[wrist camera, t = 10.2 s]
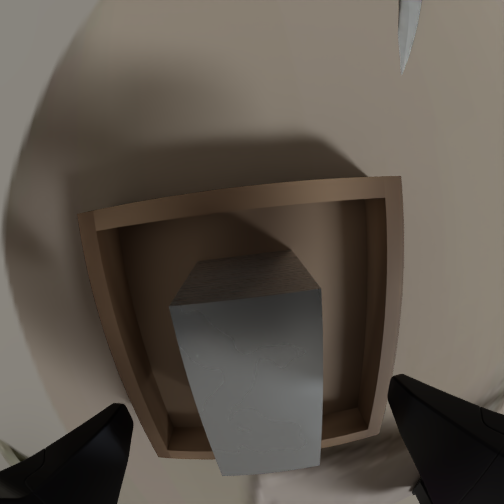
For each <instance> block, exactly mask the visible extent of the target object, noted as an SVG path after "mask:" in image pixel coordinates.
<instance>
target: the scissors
mask: <svg viewBox="0 0 504 504" xmlns="http://www.w3.org/2000/svg"><path fill="white" fill-rule="evenodd" d="M421 3H422V0H400V2H399V24H398V42H399V53H400V66H401V75H402V74H403V71H404V69H405V66H406V63H407V61H408V57H409V55H410V51H411V48H412V45H413V41H414V37H415V33H416V29H417V25H418V20H419V15H420V8H421Z"/></svg>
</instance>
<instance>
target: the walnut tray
mask: <svg viewBox="0 0 504 504" xmlns="http://www.w3.org/2000/svg"><path fill="white" fill-rule="evenodd" d="M77 216H78V223H79V229H80V235H81V241H82V247H83V252H84V257H85V262H86V266H87V271H88V275H89V279H90V284H91V288H92V292H93V295H94V299H95V303H96V306H97V310H98V314H99V317H100V320H101V324H102V327H103V330H104V333H105V336H106V339H107V342H108V345H109V348H110V351H111V354H112V356H113V359H114V362H115V365H116V367H117V370H118V372H119V375H120V377H121V380H122V382H123V385H124V387H125V390H126V392H127V394H128V397H129V399H130V401H131V403H132V406H133V408H134V410H135V412H136V414H137V416H138V419H139V421H140V423H141V425H142V427H143V429H144V431H145V433H146V435H147V437H148V439H149V440H150V442H151V444H152V446H153V448H154V450H155V452H156V453H157V455H158V457H162V458H177V459H215V456H214V454H213V451H212V448H211V446H210V443H209V440H208V438H207V435H206V432H205V429H204V426H203V424H202V421H201V418H200V415H199V412H198V409H197V406H196V403H195V400H194V397H193V394H192V390H191V387H190V384H189V381H188V377H187V374H186V371H185V367H184V364H183V360H182V357H181V353H180V349H179V346H178V342H177V338H176V334H175V330H174V326H173V322H172V318H171V314H170V310H169V305H170V304H171V302H172V301H173V299H174V297H175V296H176V294H177V293H178V291H179V290H180V288H181V286H182V285H183V283H184V282H185V280H186V279H187V277H188V275H189V274H190V272H191V271H192V269H193V268H194V266H195V265H196V263H197V262H198V261H203V260H211V259H219V258H227V257H235V256H243V255H251V254H259V253H267V252H275V251H283V250H292V251H293V252H294V254H295V255H296V256H297V257H298V259H299V260H300V261H301V263H302V264H303V265H304V267H305V268H306V269H307V270H308V272H309V273H310V274H311V276H312V277H313V278H314V279H315V281H316V282H317V283H318V285H319V286H320V287H321V293H322V320H323V410H322V435H321V448H326V447H331V446H335V445H340V444H344V443H348V442H352V441H356V440H360V439H364V438H367V437H371V436H374V435H378V434H379V432H380V428H381V424H382V420H383V416H384V412H385V408H386V404H387V399H388V398H387V394H388V389H389V384H390V379H391V377H392V374H393V368H394V362H395V355H396V349H397V341H398V333H399V325H400V315H401V304H402V289H403V268H404V217H403V196H402V182H401V176H381V177H354V178H334V179H318V180H305V181H292V182H281V183H270V184H260V185H251V186H242V187H233V188H225V189H217V190H210V191H202V192H195V193H188V194H182V195H175V196H169V197H163V198H157V199H151V200H145V201H139V202H134V203H128V204H123V205H118V206H113V207H108V208H103V209H98V210H93V211H88V212H84V213H79V214H77Z"/></svg>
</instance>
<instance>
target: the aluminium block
mask: <svg viewBox="0 0 504 504" xmlns="http://www.w3.org/2000/svg"><path fill="white" fill-rule="evenodd" d="M169 310H170V314H171V318H172V322H173V326H174V330H175V334H176V338H177V342H178V346H179V349H180V353H181V357H182V360H183V364H184V367H185V371H186V374H187V377H188V381H189V384H190V387H191V390H192V394H193V397H194V400H195V403H196V406H197V409H198V412H199V415H200V418H201V421H202V424H203V426H204V429H205V432H206V435H207V438H208V440H209V443H210V446H211V448H212V451H213V454H214V456H215V459H216V461H217V464H218V466H219V469H220V471H221V474H222V476H235V475H252V474H264V473H273V472H282V471H289V470H296V469H302V468H308V467H313V466H319V465H320V452H321V435H322V410H323V320H322V293H321V287H320V286H319V285H318V283H317V282H316V281H315V279H314V278H313V277H312V276H311V274H310V273H309V272H308V270H307V269H306V268H305V267H304V265H303V264H302V263H301V261H300V260H299V259H298V257H297V256H296V255H295V254H294V252H293V251H292V250H283V251H275V252H267V253H259V254H251V255H243V256H235V257H227V258H219V259H211V260H203V261H198V262H197V263H196V265H195V266H194V268H193V269H192V271H191V272H190V274H189V275H188V277H187V279H186V280H185V282H184V283H183V285H182V286H181V288H180V290H179V291H178V293H177V294H176V296H175V297H174V299H173V301H172V302H171V304H170V305H169Z"/></svg>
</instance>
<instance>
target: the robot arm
mask: <svg viewBox="0 0 504 504" xmlns="http://www.w3.org/2000/svg"><path fill="white" fill-rule="evenodd" d="M387 398H388V402H389V404H390V407H391V410H392V413H393V415H394V418H395V421H396V424H397V427H398V429H399V432H400V434H401V436H402V439H403V441H404V443H405V445H406V447H407V449H408V451H409V453H410V455H411V457H412V459H413V461H414V463H415V465H416V467H417V469H418V471H419V473H420V475H421V479H420V480H419V482H418V483H417V485H416V487H415V488H414V490H413V491H412V494H413V495H416V497H417V499H418V501H419V503H420V504H504V415H503V414H500V413H497V412H494V411H491V410H488V409H486V408H483V407H480V406H478V405H475V404H473V403H470V402H468V401H465V400H463V399H460V398H458V397H455V396H453V395H451V394H448V393H446V392H443V391H441V390H439V389H436V388H434V387H432V386H429V385H427V384H425V383H422V382H420V381H418V380H416V379H413V378H411V377H409V376H407V375H404V374H399V375H396V376H393V377H391V379H390V384H389V389H388V394H387ZM132 431H133V420H132V418H131V416H130V414H129V412H128V409H127V407H126V406H125V405H124V404H120V403H113V404H111V405H110V406H108V407H107V408H105V409H104V410H103V411H101V412H100V413H98V414H97V415H95V416H94V417H92V418H91V419H89V420H88V421H86V422H85V423H83V424H82V425H80V426H79V427H77V428H76V429H74V430H73V431H71V432H70V433H68V434H66V435H65V436H63V437H62V438H60V439H59V440H57V441H56V442H54V443H52V444H51V445H49V446H48V447H46V449H43V450H41V451H40V452H38V453H36V454H35V455H33V456H31V457H29V458H27V459H25V460H24V461H21V462H19V463H17V464H15V465H13V466H11V467H9V468H7V469H4V470H2V471H0V504H117V502H118V498H119V494H120V489H121V485H122V482H123V478H124V474H125V470H126V466H127V462H128V457H129V451H130V444H131V438H132Z"/></svg>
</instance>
